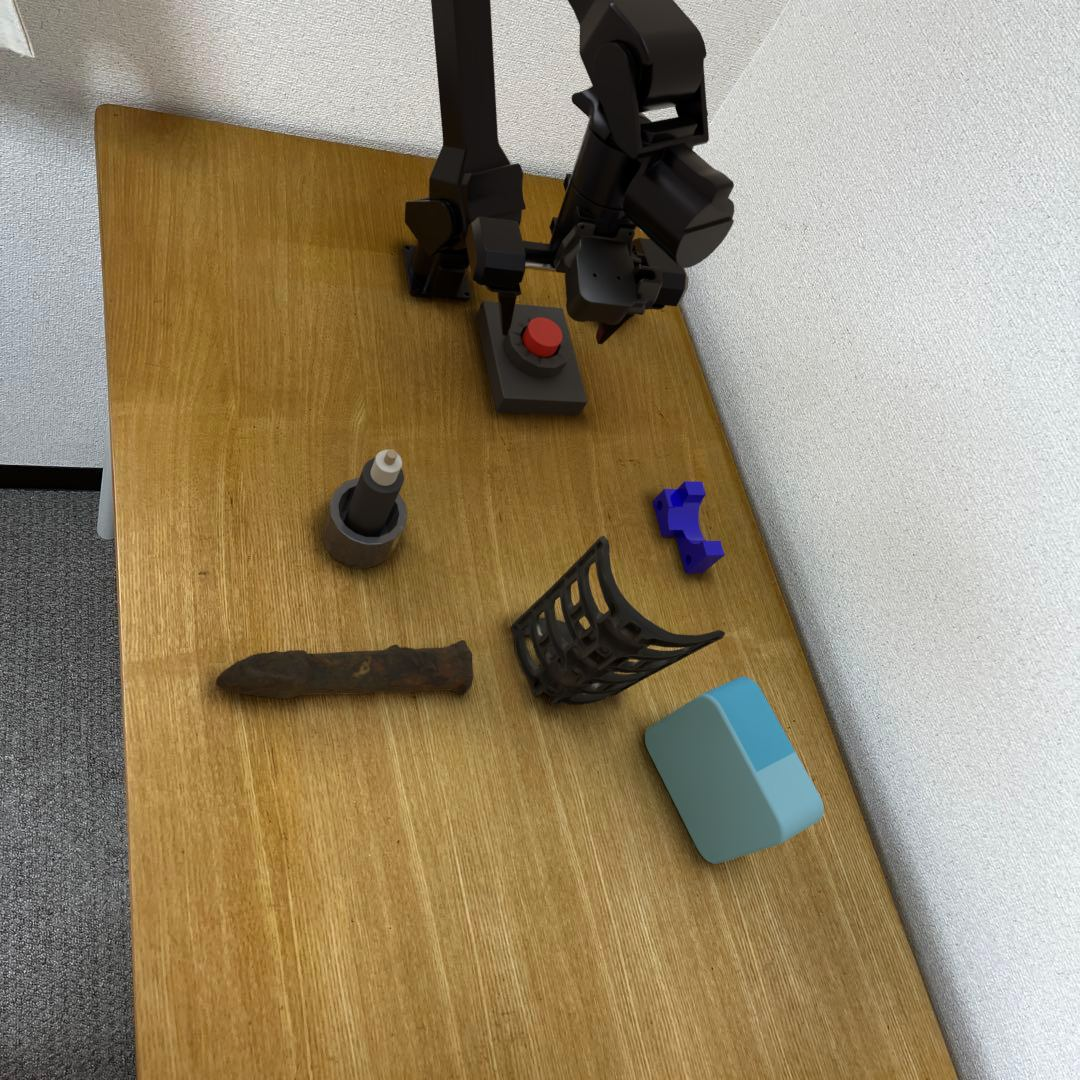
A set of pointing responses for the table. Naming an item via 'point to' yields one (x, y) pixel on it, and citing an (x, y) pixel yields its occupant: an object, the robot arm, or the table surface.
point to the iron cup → (355, 546)
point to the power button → (542, 337)
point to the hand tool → (351, 672)
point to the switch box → (529, 364)
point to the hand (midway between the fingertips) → (552, 336)
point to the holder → (594, 638)
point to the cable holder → (687, 525)
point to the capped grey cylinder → (375, 494)
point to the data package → (733, 772)
